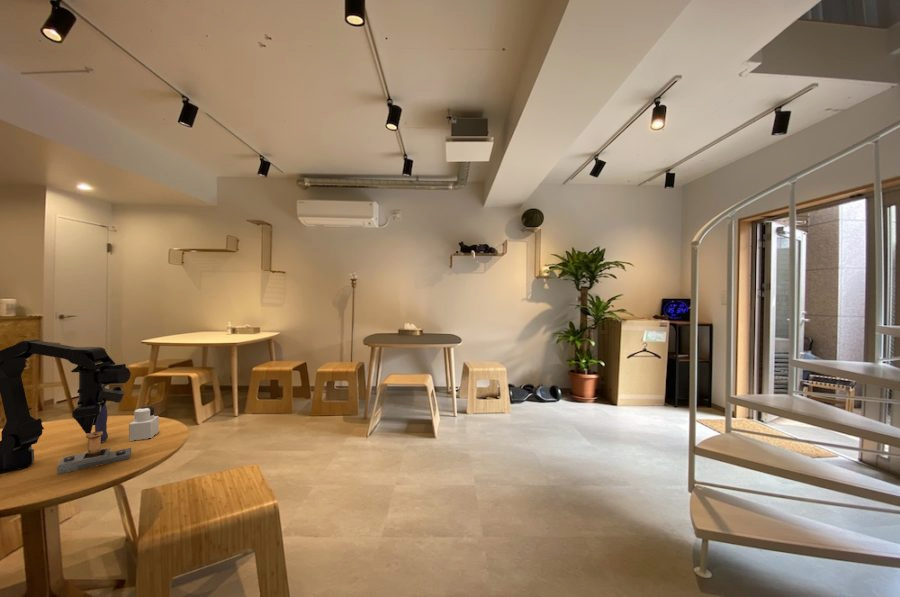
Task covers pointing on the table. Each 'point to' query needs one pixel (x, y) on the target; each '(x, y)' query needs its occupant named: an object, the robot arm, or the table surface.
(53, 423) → the table surface
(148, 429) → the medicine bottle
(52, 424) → the table surface
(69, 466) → the slotted metal plate
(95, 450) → the pin
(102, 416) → the rubber mallet
